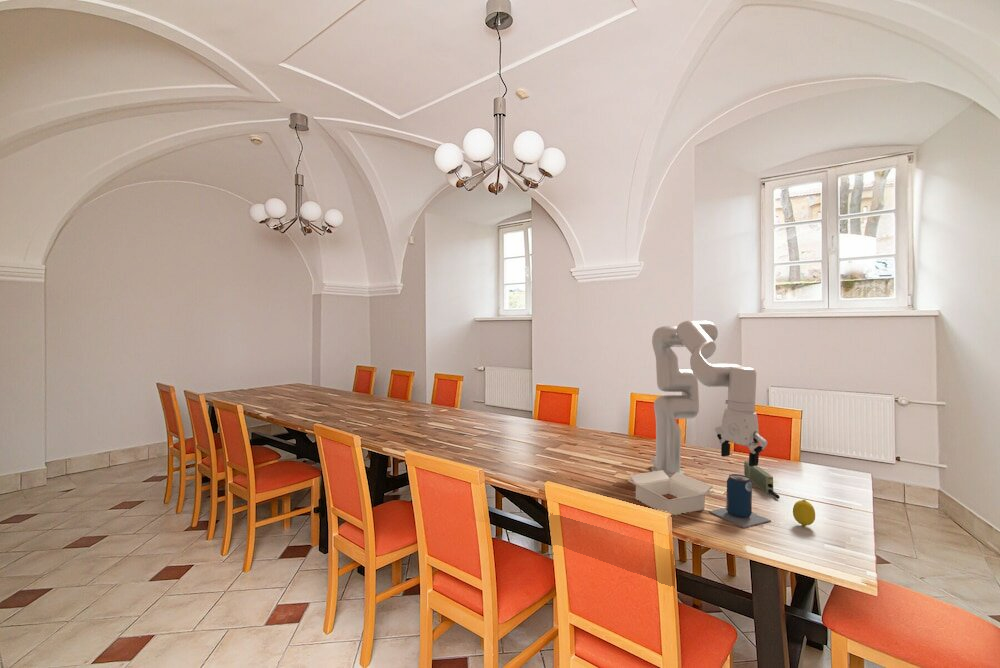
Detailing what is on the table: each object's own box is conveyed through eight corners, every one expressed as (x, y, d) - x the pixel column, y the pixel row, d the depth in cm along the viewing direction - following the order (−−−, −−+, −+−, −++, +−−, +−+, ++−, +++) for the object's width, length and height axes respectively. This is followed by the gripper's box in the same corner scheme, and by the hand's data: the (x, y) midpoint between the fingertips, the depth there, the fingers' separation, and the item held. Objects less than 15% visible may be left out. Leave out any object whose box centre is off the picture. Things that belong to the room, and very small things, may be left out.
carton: (620, 496, 152) (620, 476, 152) (669, 488, 160) (669, 468, 160) (668, 523, 131) (669, 499, 131) (721, 511, 140) (722, 489, 140)
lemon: (788, 522, 133) (788, 496, 132) (805, 522, 133) (805, 496, 133) (802, 531, 127) (802, 503, 127) (819, 530, 128) (820, 503, 127)
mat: (709, 512, 139) (709, 511, 139) (735, 506, 144) (735, 505, 144) (743, 528, 128) (743, 526, 128) (770, 521, 133) (770, 520, 133)
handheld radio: (752, 477, 175) (783, 500, 150) (743, 476, 176) (773, 500, 151) (751, 460, 175) (782, 481, 150) (743, 460, 176) (772, 481, 151)
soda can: (756, 519, 134) (757, 480, 134) (736, 520, 133) (737, 481, 132) (740, 509, 141) (741, 472, 141) (721, 511, 139) (721, 473, 139)
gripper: (709, 402, 143) (707, 453, 143) (759, 413, 127) (756, 471, 127) (725, 400, 145) (723, 451, 146) (776, 411, 130) (773, 468, 130)
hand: (738, 460), depth 137 cm, fingers open, 9 cm apart
